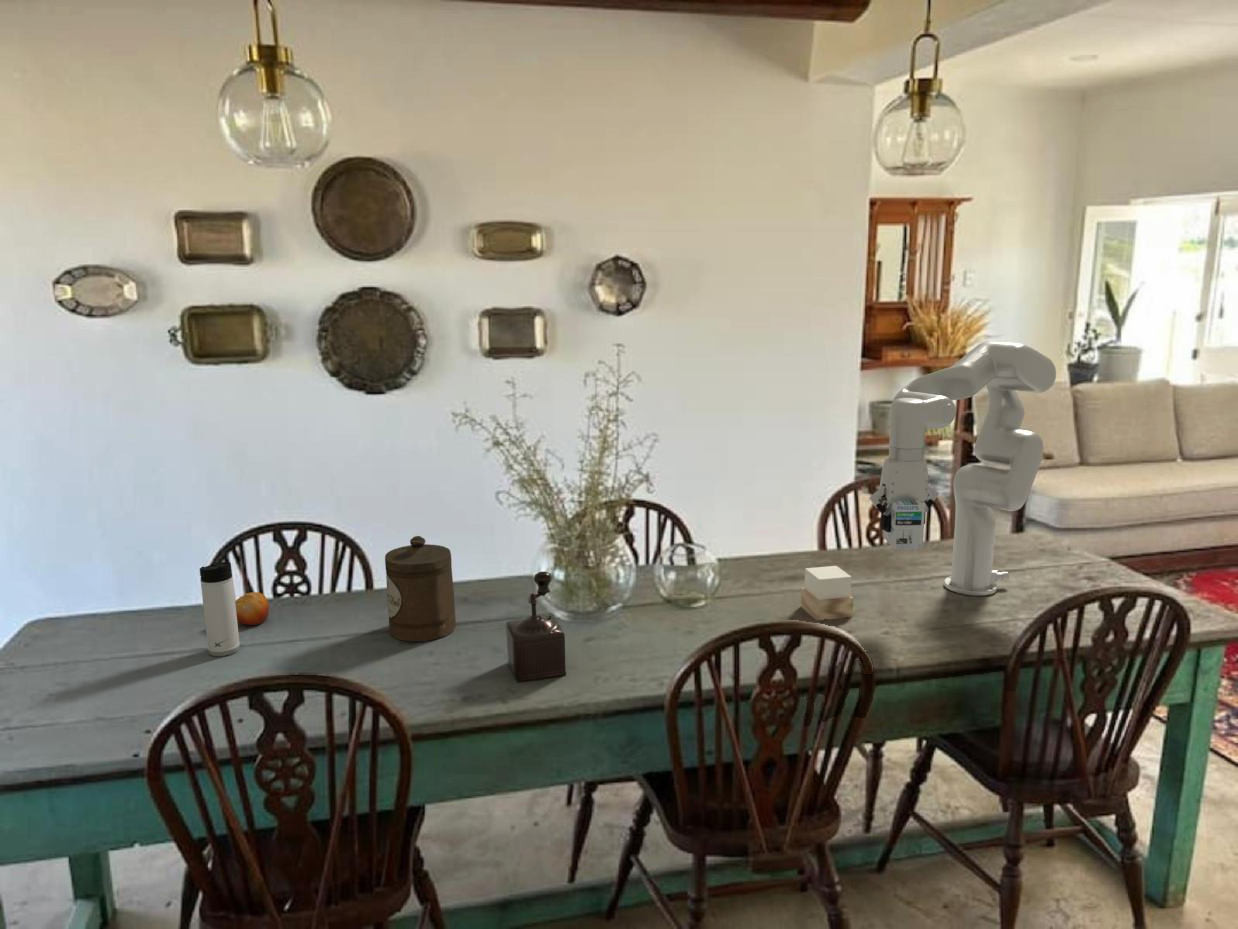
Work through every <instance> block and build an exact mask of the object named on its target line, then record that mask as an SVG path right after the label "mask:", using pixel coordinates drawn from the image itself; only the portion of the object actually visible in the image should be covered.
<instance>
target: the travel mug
mask: <svg viewBox="0 0 1238 929" xmlns="http://www.w3.org/2000/svg"><path fill="white" fill-rule="evenodd" d="M199 576H200V587H201V595H202V606H203V614H204V623H205V632H206V641H207V642H206V643H207V649H208V655H210V656H212V657H216V656H222V657H226V655H228V656H231V655H233V654H236V653H238V652H239V650H240V649H241V646H240V645H241V644H240V637H239V635H240V634H239V628H238V627H239V625H238V620H237V615H236V606H235V601H236V596H235V589H234V587H235V586H234V578H233V573H232V563H231V561H220V562H216V563H215V562H214V563H210V564H209V565H207V566H201V567H200V568H199ZM230 654H231V655H230Z"/></svg>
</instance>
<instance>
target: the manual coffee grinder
mask: <svg viewBox="0 0 1238 929" xmlns="http://www.w3.org/2000/svg"><path fill="white" fill-rule="evenodd" d="M552 580H553V576H552V574H551V573H550V572H549V571H539V572H537V573H535V574H534V576H533V581H534V583H535V584H536V585H537V587H538V588H537V591H536V593H534V592H532V593H530V595H529V596H528V597H526V601H527V602H528V604H529V605H531V606H530V607H531V615H530V616H528V617H525V618H523V619H516V620H510V621H506V622H505V628H506V630H505V631H506V632H505V633H506V647H507V649H506V650H507V657H508V658H507V662H508V667H509V669H510V672H511V674H512V676H513V678H514V680H516V682H517V684H518V683H527V682H534V681H542V680H548V679H554V678H555V679H556V678H561V677H566V676H567V672H566V669H567V668H566V637H565V636H566V635H565V632H564V631H563V628H562V627H561V625H560V624H559V622H558V621H557V619H556V618H555V617H554V615H552V614H550V615H546V616H545V615H540V614H538V615H537V604H538V599H537V598H540V597H541V596H543V597H545V596H546V595H547V594H548V593H551V590H550V587H549V586H550V584H551V582H552Z"/></svg>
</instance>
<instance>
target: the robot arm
mask: <svg viewBox="0 0 1238 929" xmlns="http://www.w3.org/2000/svg"><path fill="white" fill-rule="evenodd" d="M1056 369H1057V368H1056V366H1055V363H1054V362H1053V360H1051V359H1050V358H1049V357H1047V356H1046V355H1044V354H1043V353H1041V352H1039V351H1038V350H1036V349H1034V348H1033V347H1031V346H1028V345H1026V344H1023V343H1016V342H1005V341H1004V342H1003V341H984V342H981V343H979V344H977V345H976V346H974V347H973V348H972V349H971V350H970V351H968V352H966V354H965V355H964V356H962V357H961V358H960V359H959V360H958V361H957V362H955V363H954V364H952V365H951V366H950V367H949V366H948V367H946V368H943V369H939V370H937V371H934V372H931V373H927V374H924V375H922V376H919V377H917V378H915V379H913V380H911V381H910V382H909V383H907V384H906V385H904V386H903V387H902V388H901V389H900V390H899V391H898V392H897V394H896V395H895V396H894V397H893V399H892V401H891V402H892V403H891V405H890V416H889V417H890V418H889V419H890V420H889V439H888V440H889V443H888V444H889V445H888V458H885V459H884V462H883V466H882V469H881V474H880V481H879V488H878V489H877V490H876V491H875V492H874V493H872V495H870V496H869V498H868V499H869V501H870V502H871V504H872V505H873V506H874V508H876V510H877V511H878V512H879V513H880V528H881V530H882V531H883V530H884V531H886V532H891V515H889V513H890V512H891V508H892V504H893V502H896V501H910V500H920V501H921V502H923V503H924V504H925V514H924V525H925V524H926V516H927V515H926V513H927V512H929V508H931V506H932V505H933V504H934V501H935V500H936V499H937V498H938V497H939V491H937V490H935V489H934V488H933V487H931V485H930V484H929V471H928V464H927V460H926V458H925V454H928V453H930V448H929V447H928V446H927V447H926V446H925V438H926V436H925V435H926V434H925V433H926V430H941V429H944V428H946V427H948V426H950V425H951V424H952V423H953V421H954V419H955V418H956V416H957V415H956V414H957V407H956V404H955V403H954V401H958V400H959V401H960V400H962V399H963V400H964V399H968V398H971V397H973V396H975V395H976V394H978V393H979V392H980V391H982V389H983V388H985V386H986V389H987V390H986V391H987V394H988V409H987V412H986V415H985V417H984V420H983V423H982V426H980V427H981V428H980V430H979V433H978V436H977V438H976V441H975V444H974V448H973V449H974V450H973V452H974V457H975V458H976V459H978V460H979V461H981V462H984V463H986V464H991V465H995V466H999V467H1000V466H1001V467H1006V468H1009V469H1010V470H1007V469H1002V468H997V467H993V466H987V465H982V464H968V465H967V464H966V465H963V466H961V467H960V468H959V469H958V470H957V471H956V473H955V475H954V478H953V493H954V501H955V503H954V504H955V515H954V516H955V519H954V534H953V548H952V560H951V561H952V562H951V574H950V576H948V577H946V578H944V580H943V585H944V587H945V588H946V589H947V590H950V591H952V592H954V593H957V594H961V595H967V596H977V597H978V596H979V597H980V596H981V597H982V596H989V595H993V594H995V593H996V592H997V591H998V585H997V583H996V582H998V581H1000V580H1001V581H1005V580H1009V578H1010V574H1009V572H1008V571H1002V572H1001V571H1000V572H999V571H998V570H996V569H995V570H993V560H994V549H995V537H996V526H997V523H996V517H995V514H994V512H993V509H997V510H1004V511H1009V512H1010V511H1011V512H1014V511H1015V512H1016V511H1018V510H1020V509H1021V508H1022V507H1023V506H1024V505H1025V503H1026V502H1027V499H1028V497H1029V495H1030V492H1031V490H1032V487H1033V485H1034V482H1035V479H1036V477H1037V474H1038V472H1039V469H1040V466H1041V463H1042V460H1043V456H1044V449H1045V448H1044V442H1043V439H1042V437H1041V436H1040V435H1039V434H1038V433H1037V432H1034V431H1030V430H1026V429H1021V426H1022V424H1023V420H1024V417H1025V408H1024V405H1023V403H1022V400H1021V399H1020V397H1019V395H1018V393H1017V391H1019V392H1029V393H1037V394H1038V393H1039V394H1041V393H1045V392H1047V391H1049V390H1050V389H1051V388H1052V387H1053V386H1054V384H1055V382H1056V377H1057V370H1056ZM879 500H881V501H882V503H881V502H880V501H879ZM992 508H993V509H992Z"/></svg>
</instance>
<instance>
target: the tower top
mask: <svg viewBox="0 0 1238 929" xmlns="http://www.w3.org/2000/svg"><path fill="white" fill-rule="evenodd" d="M804 588H805V589H806V590H807V591H808V592H810V593H811V594H812V595H813V596H814V597H816V598H817V599H818V600H824V599H834V598H845V597H850V596H851V594H852V591H851V590H852V576H851V575H850V574H849V573H847V572H846V571H844V570H843V569H841V568H840V567H839V566H837V565H830V566H829V565H828V566H818V567H817V566H816V567H806V568H804ZM851 597H852V596H851Z"/></svg>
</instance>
